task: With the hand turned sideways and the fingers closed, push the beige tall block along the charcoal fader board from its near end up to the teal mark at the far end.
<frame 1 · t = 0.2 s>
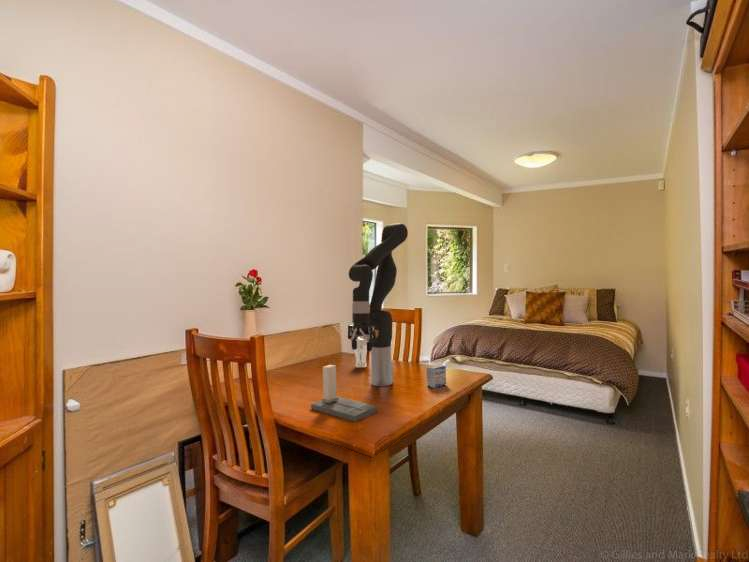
hand: (361, 350, 165), 18 cm above the table, tool pointing down, fingers open, 8 cm apart
fader board: (343, 410, 143), on the table
medicine box: (436, 386, 171), on the table
beige tall block: (329, 383, 147), point 9 cm above the table, slide at 0.0 cm
beer glass: (361, 366, 211), on the table
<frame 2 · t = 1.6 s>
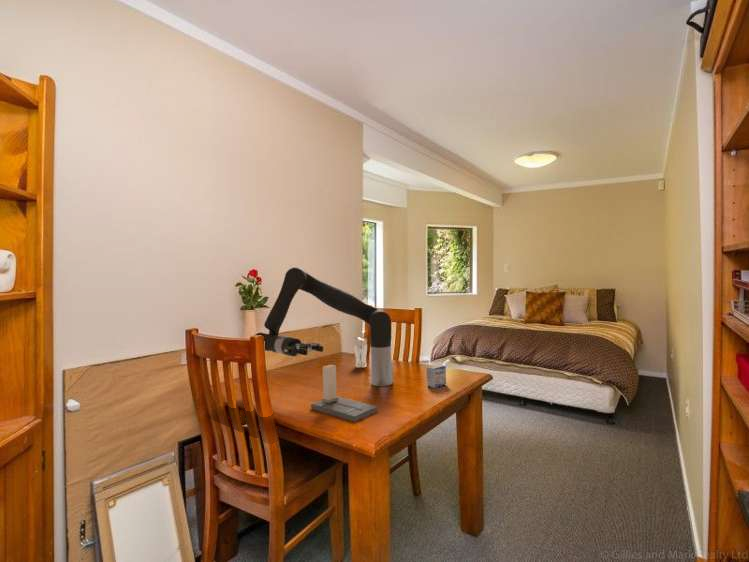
hand: (314, 350, 152), 20 cm above the table, tool horizontal, fingers open, 8 cm apart
nothing on the table moved.
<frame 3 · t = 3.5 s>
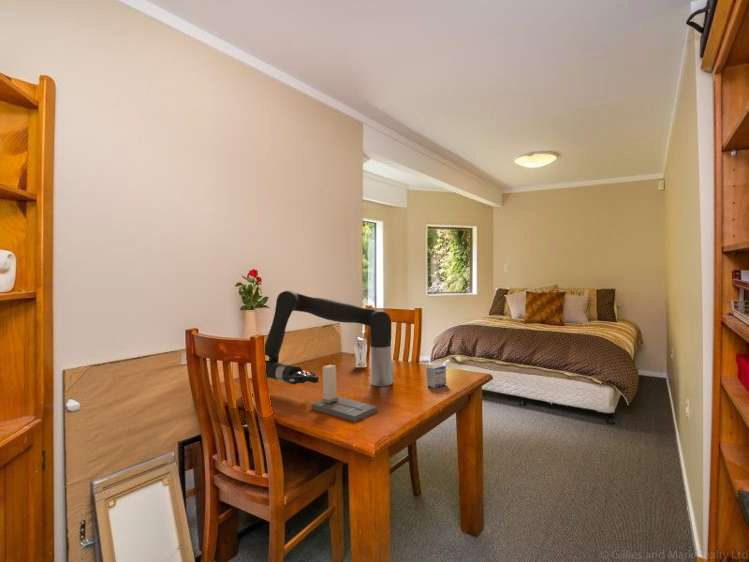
hand: (317, 380, 152), 9 cm above the table, tool horizontal, fingers closed
nothing on the table moved.
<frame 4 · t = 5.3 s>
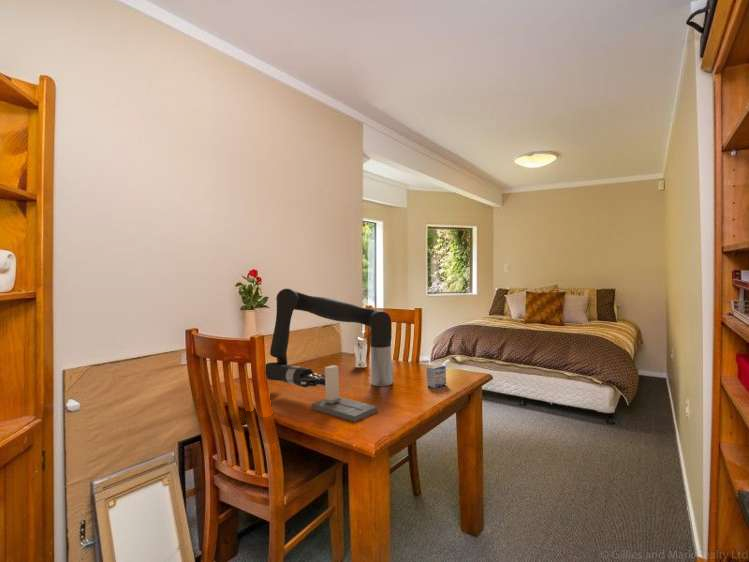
hand: (329, 382, 147), 9 cm above the table, tool horizontal, fingers closed
beige tall block: (332, 383, 146), point 9 cm above the table, slide at 1.2 cm, touching gripper
everything else where it was.
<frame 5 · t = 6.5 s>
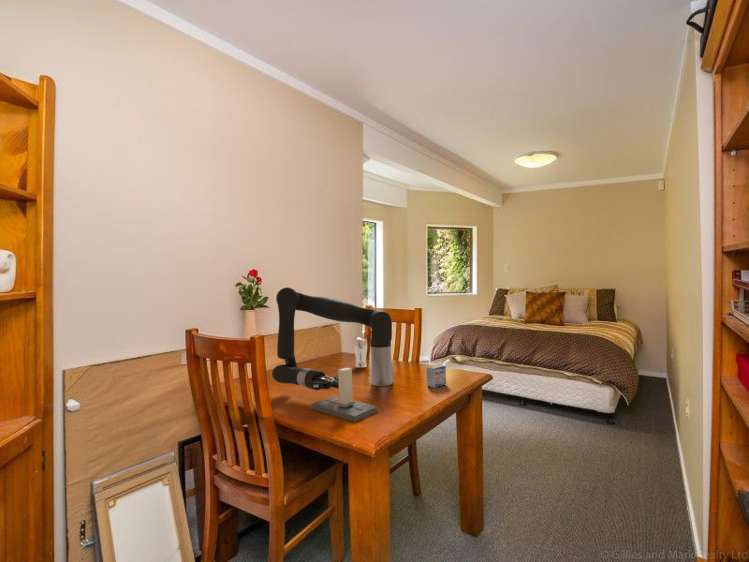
hand: (342, 385, 143), 9 cm above the table, tool horizontal, fingers closed
beige tall block: (345, 386, 142), point 9 cm above the table, slide at 8.2 cm, touching gripper
everything else where it was.
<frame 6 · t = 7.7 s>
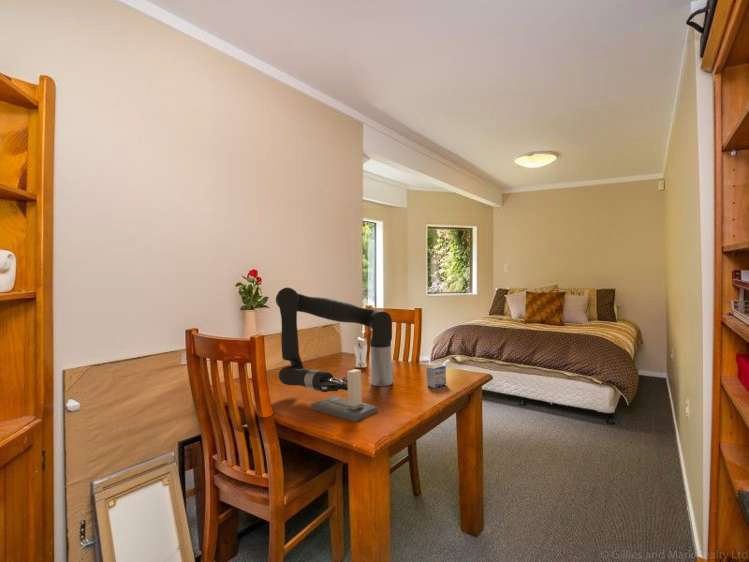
hand: (351, 387, 140), 9 cm above the table, tool horizontal, fingers closed
beige tall block: (354, 388, 139), point 9 cm above the table, slide at 12.7 cm, touching gripper
everything else where it was.
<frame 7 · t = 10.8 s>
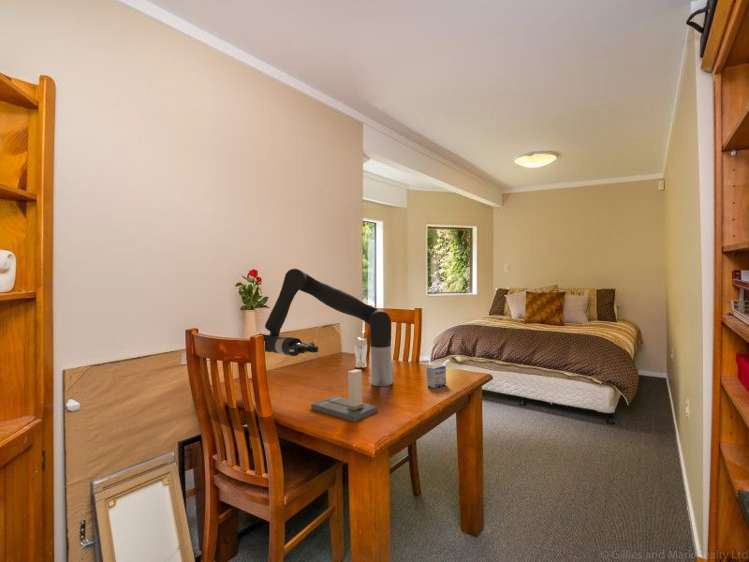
hand: (316, 349, 151), 21 cm above the table, tool horizontal, fingers closed
beige tall block: (355, 389, 139), point 9 cm above the table, slide at 13.0 cm
everything else where it was.
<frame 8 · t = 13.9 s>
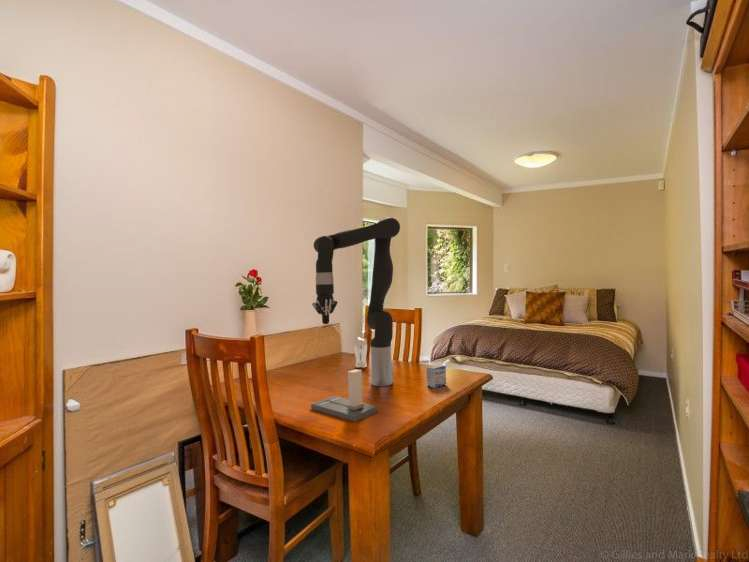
hand: (325, 323, 166), 29 cm above the table, tool pointing down, fingers closed
nothing on the table moved.
at the end: beige tall block slide at 13.0 cm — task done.
